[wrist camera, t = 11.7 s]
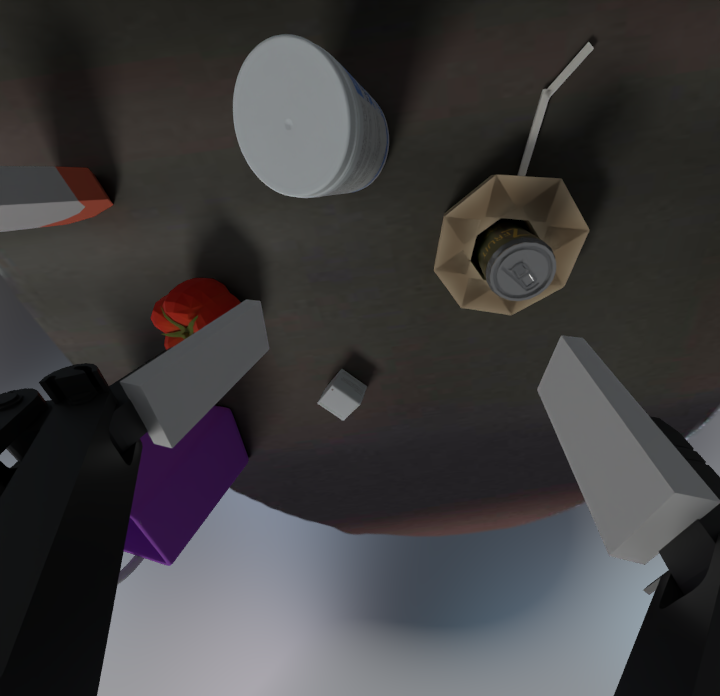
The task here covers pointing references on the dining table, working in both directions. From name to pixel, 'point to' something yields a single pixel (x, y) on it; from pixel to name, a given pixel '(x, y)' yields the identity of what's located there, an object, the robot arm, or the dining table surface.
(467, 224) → the tan octagonal bowl
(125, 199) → the dining table surface
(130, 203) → the dining table surface
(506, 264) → the beer can
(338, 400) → the small box
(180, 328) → the tomato
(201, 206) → the dining table surface
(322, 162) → the supplement tub
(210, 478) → the shopping bag
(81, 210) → the french fries container
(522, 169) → the drinking straw
